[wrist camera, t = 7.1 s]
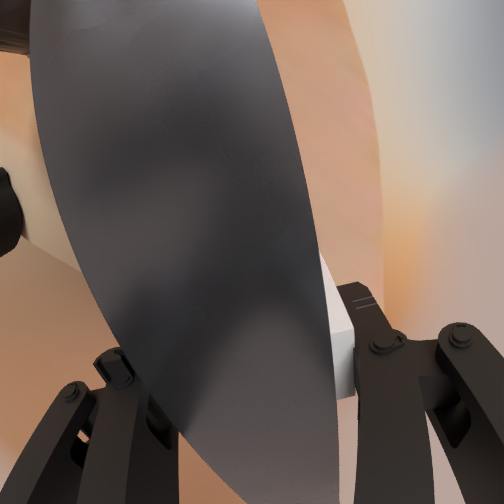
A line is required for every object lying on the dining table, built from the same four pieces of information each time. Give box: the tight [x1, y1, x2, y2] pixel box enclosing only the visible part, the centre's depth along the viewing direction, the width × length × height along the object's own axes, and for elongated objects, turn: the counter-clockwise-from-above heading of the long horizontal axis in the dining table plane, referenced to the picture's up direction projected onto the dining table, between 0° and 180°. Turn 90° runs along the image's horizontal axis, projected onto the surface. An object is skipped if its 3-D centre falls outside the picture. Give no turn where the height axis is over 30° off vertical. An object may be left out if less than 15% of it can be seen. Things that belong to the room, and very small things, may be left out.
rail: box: [30, 0, 340, 504], centre depth 8 cm, size 24×4×6 cm, turn 14°
